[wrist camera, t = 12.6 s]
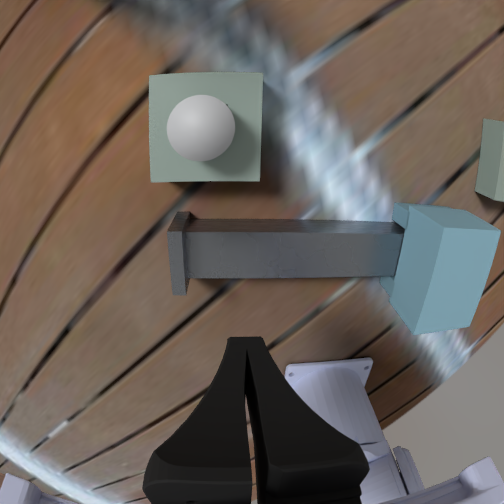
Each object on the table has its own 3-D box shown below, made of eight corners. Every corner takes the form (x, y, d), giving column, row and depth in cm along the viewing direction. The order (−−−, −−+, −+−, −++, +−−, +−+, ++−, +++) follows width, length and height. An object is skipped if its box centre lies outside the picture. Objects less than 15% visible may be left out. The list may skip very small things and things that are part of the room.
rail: (453, 264, 23) (477, 285, 20) (181, 267, 22) (172, 295, 19) (464, 220, 22) (491, 236, 18) (177, 211, 20) (166, 231, 17)
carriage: (430, 284, 23) (469, 326, 18) (378, 287, 23) (413, 335, 18) (449, 201, 21) (500, 230, 15) (395, 197, 20) (444, 227, 15)
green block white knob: (256, 173, 20) (263, 190, 15) (160, 174, 19) (140, 191, 15) (259, 77, 17) (267, 66, 13) (159, 79, 17) (138, 70, 13)
